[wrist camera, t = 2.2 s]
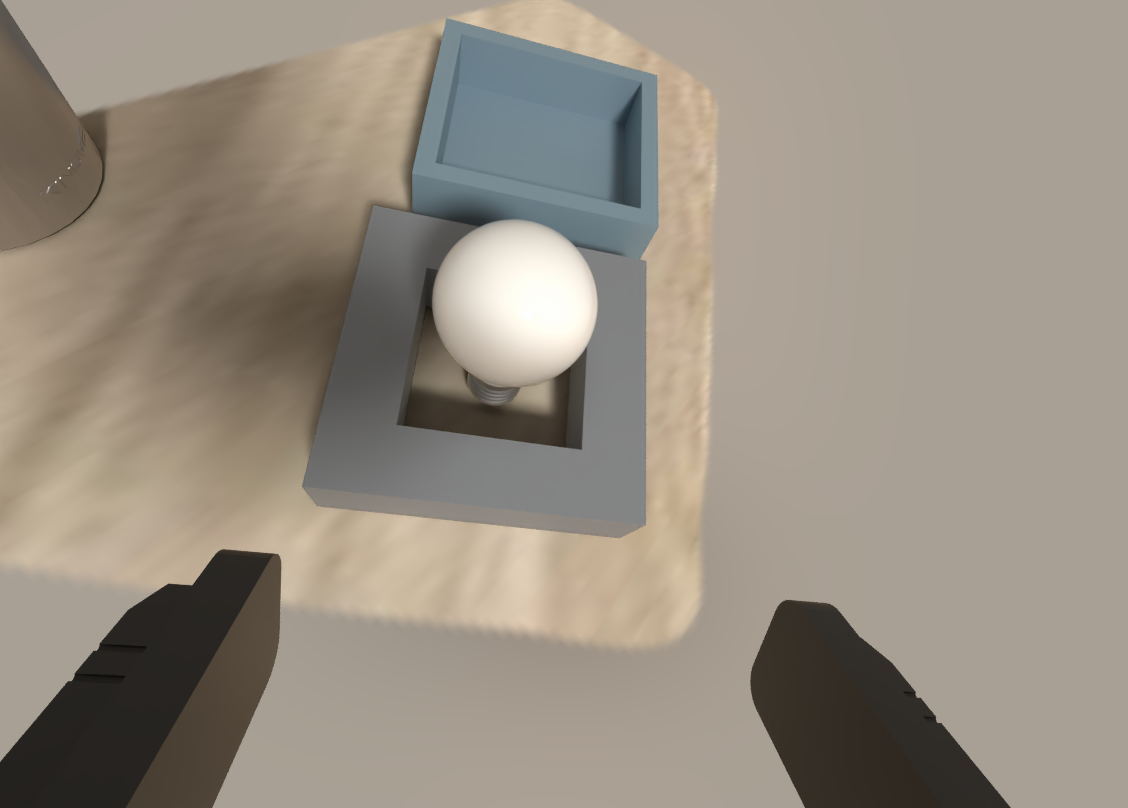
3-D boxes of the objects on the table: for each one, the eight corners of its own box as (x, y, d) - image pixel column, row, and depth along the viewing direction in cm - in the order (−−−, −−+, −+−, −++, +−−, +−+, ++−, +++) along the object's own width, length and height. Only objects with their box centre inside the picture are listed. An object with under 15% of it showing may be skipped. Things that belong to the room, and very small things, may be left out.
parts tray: (412, 226, 31) (412, 173, 28) (444, 79, 36) (446, 18, 33) (633, 270, 34) (658, 226, 30) (635, 127, 39) (657, 75, 35)
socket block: (317, 505, 25) (302, 486, 22) (378, 250, 30) (373, 205, 27) (619, 538, 27) (645, 524, 24) (624, 297, 33) (646, 260, 30)
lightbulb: (488, 311, 30) (521, 153, 21) (576, 387, 30) (653, 262, 20) (401, 386, 28) (391, 246, 18) (497, 471, 27) (541, 375, 17)
